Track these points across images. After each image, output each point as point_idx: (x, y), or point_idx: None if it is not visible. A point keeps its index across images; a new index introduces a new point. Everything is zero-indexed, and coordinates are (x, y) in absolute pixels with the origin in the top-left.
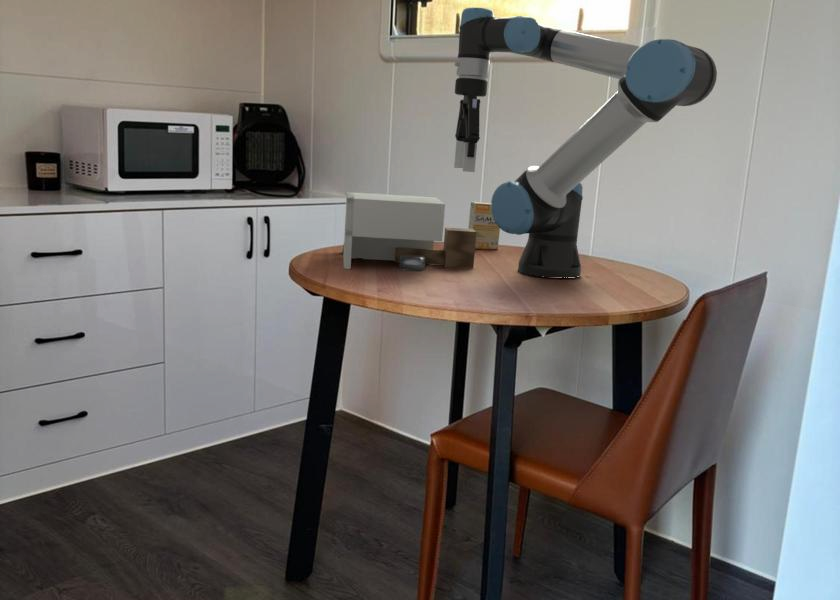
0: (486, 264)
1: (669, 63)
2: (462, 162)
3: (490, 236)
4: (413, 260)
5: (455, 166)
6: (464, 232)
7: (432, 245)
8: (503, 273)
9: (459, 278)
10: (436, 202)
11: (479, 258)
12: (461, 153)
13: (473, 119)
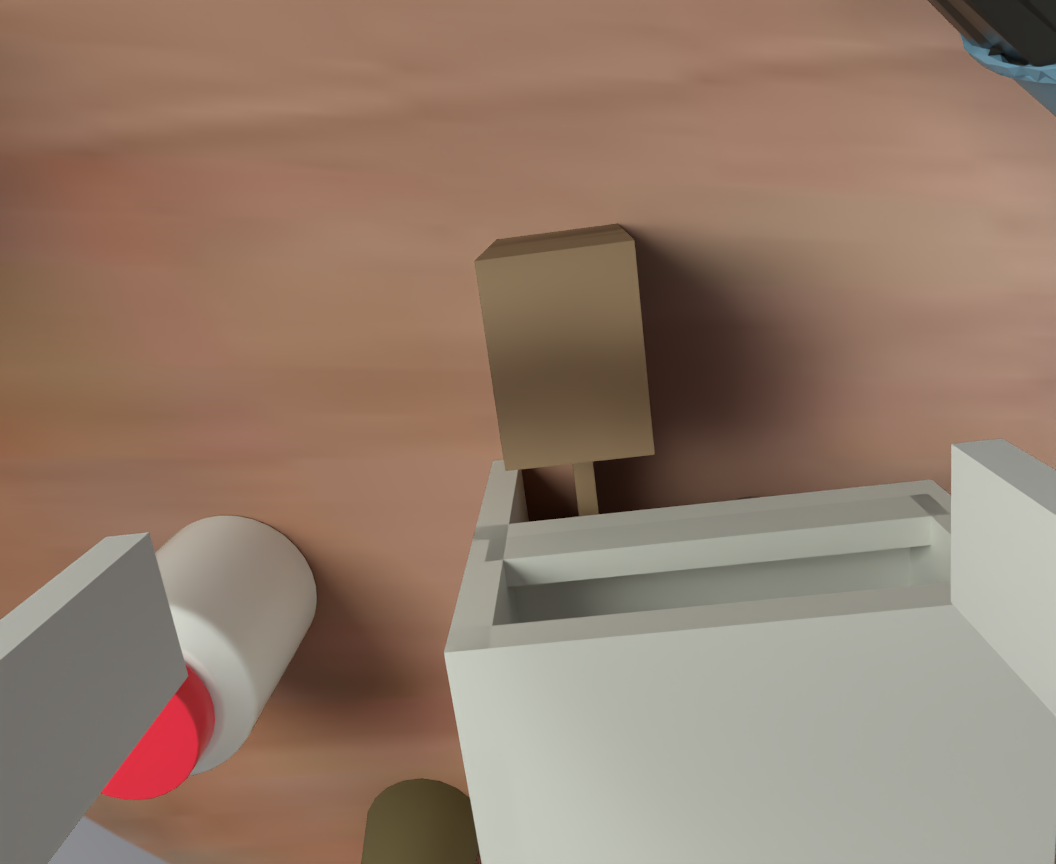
0: (431, 130)
1: None
2: (122, 618)
3: None
4: None
5: (176, 674)
6: (641, 331)
7: (514, 497)
8: (724, 34)
9: (972, 316)
10: (952, 660)
11: (216, 166)
12: (47, 731)
13: None
